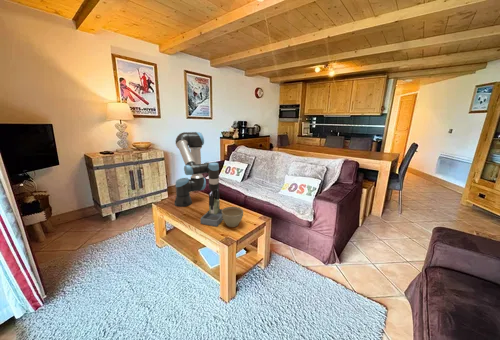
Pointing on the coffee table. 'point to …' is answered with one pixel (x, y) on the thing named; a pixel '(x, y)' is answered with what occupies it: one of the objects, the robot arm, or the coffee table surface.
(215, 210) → the olive block
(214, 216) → the bin
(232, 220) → the planter bowl
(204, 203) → the coffee table surface
